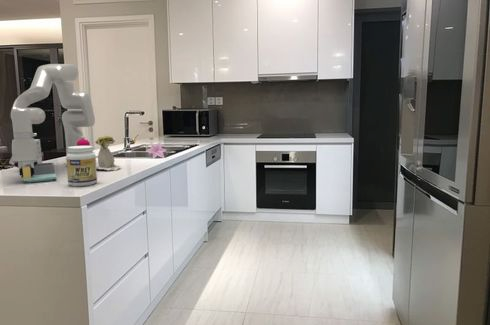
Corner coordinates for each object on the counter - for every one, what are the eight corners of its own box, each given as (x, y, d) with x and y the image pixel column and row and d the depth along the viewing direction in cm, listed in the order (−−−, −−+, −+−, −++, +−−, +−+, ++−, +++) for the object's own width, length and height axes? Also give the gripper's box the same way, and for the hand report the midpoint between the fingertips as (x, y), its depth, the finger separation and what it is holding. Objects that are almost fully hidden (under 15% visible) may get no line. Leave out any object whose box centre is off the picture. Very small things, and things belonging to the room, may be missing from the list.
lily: (143, 160, 257) (146, 147, 252) (149, 150, 267) (151, 138, 262) (161, 165, 258) (164, 153, 253) (166, 156, 268) (169, 144, 263)
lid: (56, 177, 192) (54, 163, 191) (56, 180, 184) (55, 166, 183) (24, 179, 186) (22, 165, 185) (23, 183, 178) (22, 168, 176)
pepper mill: (77, 175, 200) (74, 135, 197) (92, 174, 203) (90, 135, 200) (77, 178, 194) (74, 137, 190) (93, 176, 196) (90, 136, 193)
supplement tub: (68, 188, 172) (65, 148, 170) (68, 182, 183) (65, 145, 181) (98, 185, 177) (95, 147, 174) (96, 180, 188) (94, 144, 185)
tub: (54, 173, 205) (53, 162, 204) (55, 176, 197) (54, 164, 196) (25, 176, 199) (24, 164, 198) (25, 179, 191) (23, 167, 190)
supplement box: (43, 169, 218) (40, 139, 215) (39, 172, 209) (36, 140, 206) (24, 170, 215) (21, 139, 213) (18, 173, 206) (15, 141, 204)
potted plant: (108, 172, 209) (105, 137, 206) (90, 170, 215) (88, 136, 212) (124, 168, 219) (122, 135, 216) (107, 166, 225) (105, 134, 222)
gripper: (43, 134, 186) (47, 173, 189) (2, 136, 179) (7, 176, 182) (43, 136, 179) (47, 176, 182) (1, 138, 172) (5, 179, 175)
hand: (27, 176), depth 182 cm, fingers closed on lid, 3 cm apart
